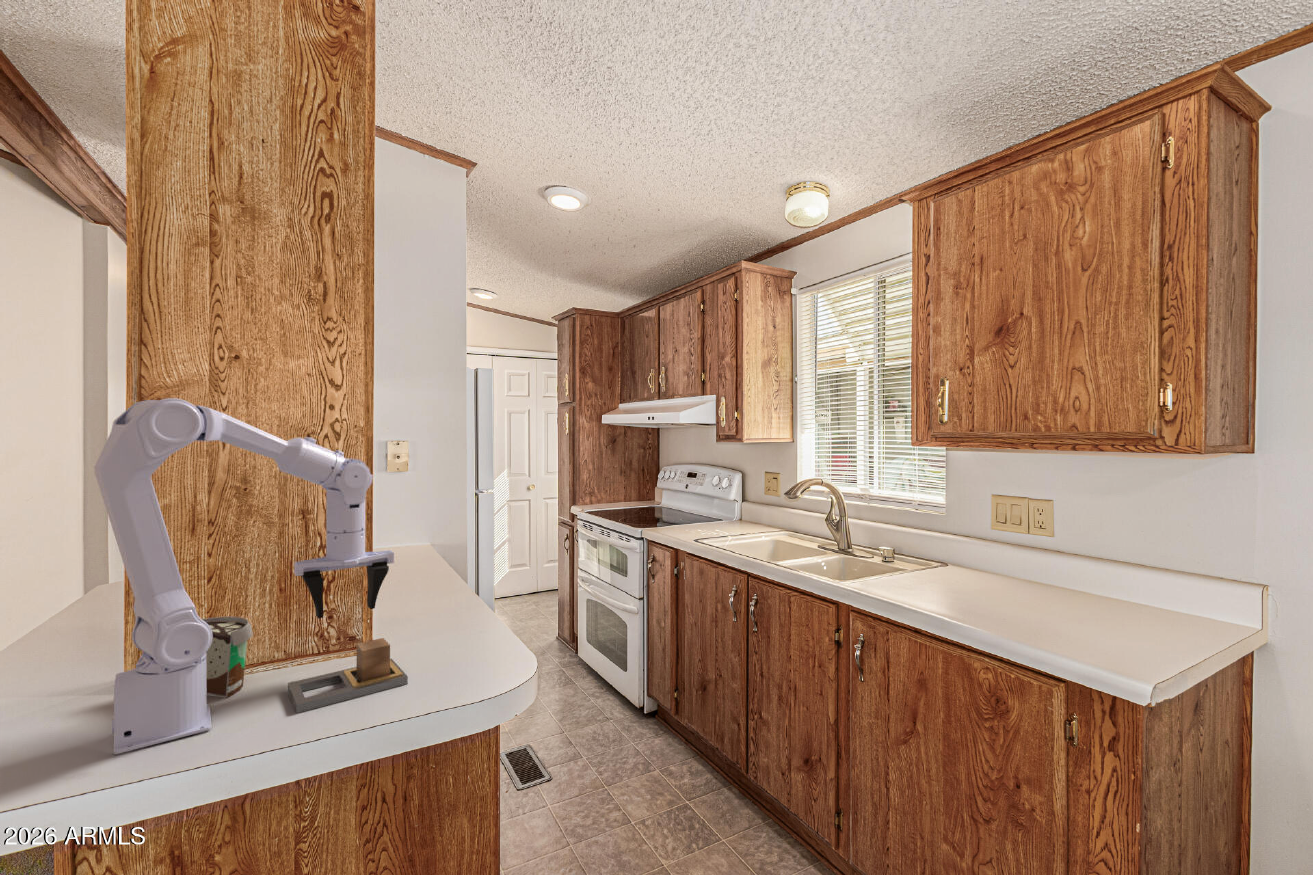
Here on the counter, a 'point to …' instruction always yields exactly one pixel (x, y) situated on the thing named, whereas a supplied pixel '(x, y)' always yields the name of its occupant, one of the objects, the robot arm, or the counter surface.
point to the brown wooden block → (372, 660)
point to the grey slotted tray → (347, 682)
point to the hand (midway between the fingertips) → (346, 611)
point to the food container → (227, 655)
